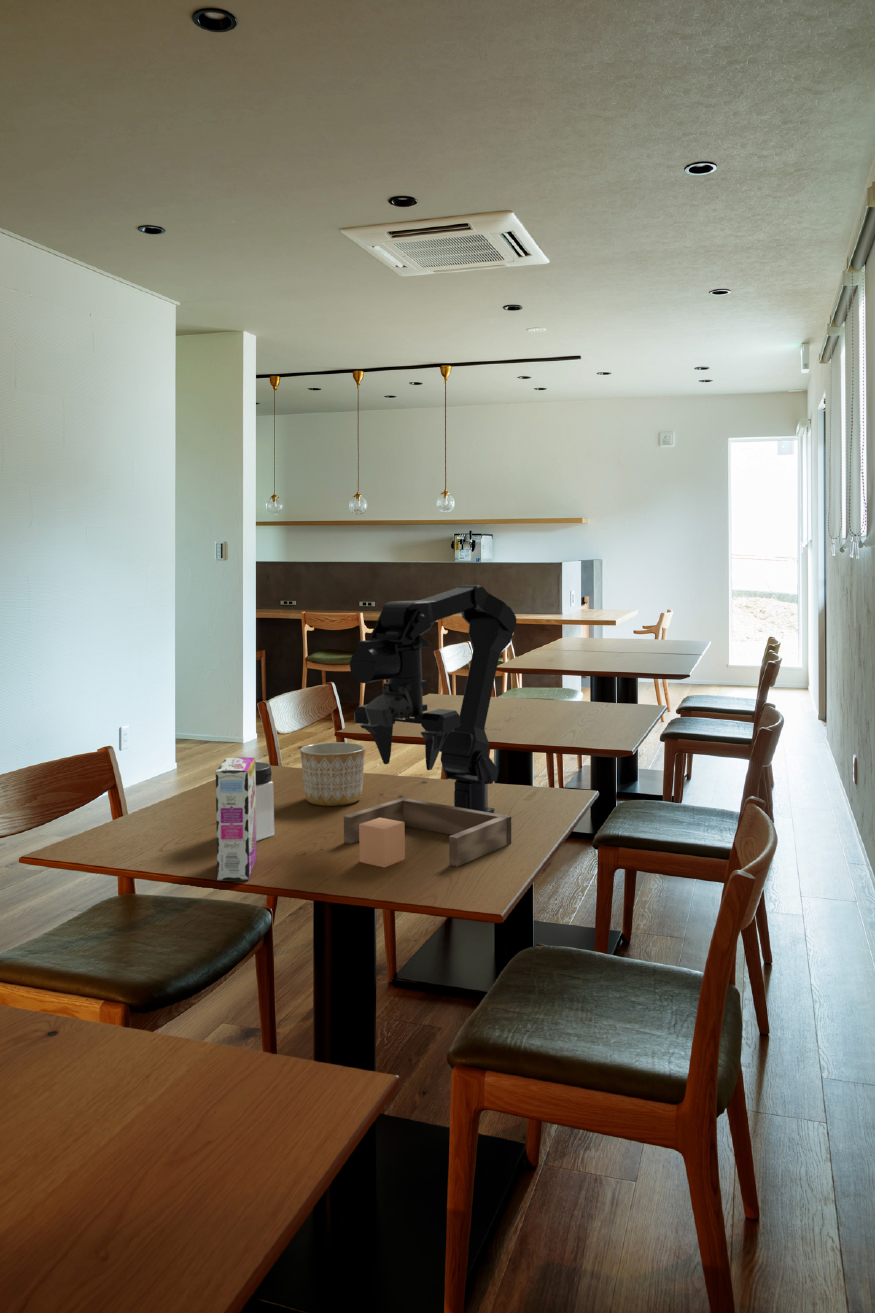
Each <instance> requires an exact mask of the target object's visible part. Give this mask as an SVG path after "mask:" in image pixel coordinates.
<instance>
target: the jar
mask: <svg viewBox="0 0 875 1313" xmlns="http://www.w3.org/2000/svg"><path fill="white" fill-rule="evenodd" d="M255 772H256V842H260V841H261V840H264V839H267V838H271V837H273V836H275V809H274V808H275V806H274V805H275V803H274V802H275V800H274V782H273V781H272V775H273V774H272V765H271V764H269V763H266V762H260V761H255Z"/></svg>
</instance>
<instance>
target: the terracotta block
mask: <svg viewBox="0 0 875 1313" xmlns="http://www.w3.org/2000/svg"><path fill="white" fill-rule="evenodd" d="M405 827H406V826H405V824H404V822H401V821H396V820H390V819H385V818H377V819H374V820H371V821H368V822H365V823H362V824H359V841H358V843H359V862H360V863H361V864H362V863H364V864H368V865H372V866H377V867H380V868H386V867H389V866H392V865H395V864H396V863H400V862H402V861H404V860H406V848H405V847H406V843H405V842H406V841H405V840H406V839H405V836H406V834H405V831H406V830H405V829H406V828H405Z"/></svg>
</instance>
